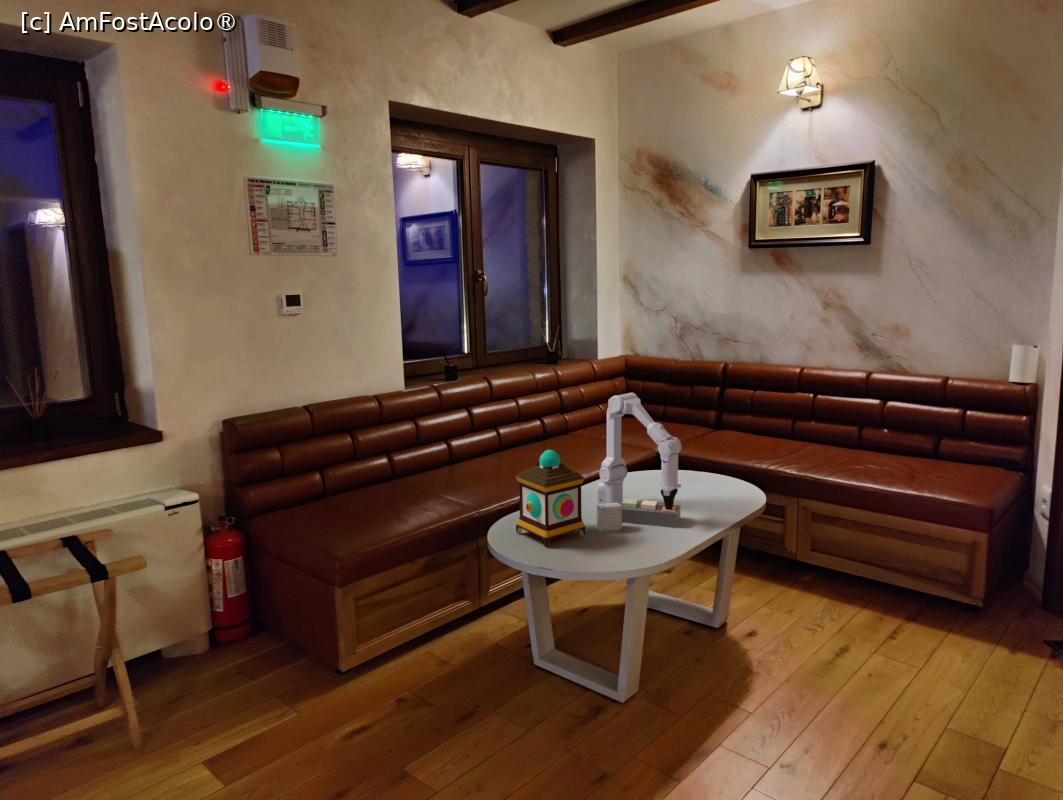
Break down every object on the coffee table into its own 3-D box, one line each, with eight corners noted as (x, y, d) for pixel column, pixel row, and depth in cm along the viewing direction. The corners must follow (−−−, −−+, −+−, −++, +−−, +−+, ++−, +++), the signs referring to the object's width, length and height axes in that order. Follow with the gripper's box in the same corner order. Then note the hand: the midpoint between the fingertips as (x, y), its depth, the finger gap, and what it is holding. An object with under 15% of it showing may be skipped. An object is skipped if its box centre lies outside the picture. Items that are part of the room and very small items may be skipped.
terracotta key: (660, 518, 260) (660, 510, 259) (662, 513, 264) (662, 506, 264) (674, 519, 258) (675, 511, 258) (676, 515, 263) (676, 507, 262)
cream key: (641, 512, 261) (641, 504, 261) (643, 507, 266) (643, 500, 266) (655, 513, 260) (655, 505, 259) (657, 508, 265) (657, 501, 264)
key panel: (617, 522, 262) (617, 508, 261) (622, 513, 272) (622, 500, 271) (676, 527, 256) (677, 513, 255) (680, 518, 265) (680, 504, 264)
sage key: (621, 510, 264) (621, 502, 263) (624, 506, 268) (624, 498, 268) (635, 511, 262) (635, 503, 262) (637, 507, 267) (637, 499, 266)
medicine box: (617, 525, 259) (617, 502, 258) (622, 529, 255) (622, 506, 253) (596, 527, 258) (596, 503, 256) (600, 532, 253) (600, 508, 252)
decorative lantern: (510, 533, 254) (508, 448, 248) (555, 520, 265) (554, 439, 260) (545, 550, 238) (544, 461, 232) (591, 536, 249) (591, 450, 244)
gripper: (678, 478, 250) (677, 516, 253) (683, 467, 264) (682, 503, 266) (657, 477, 252) (657, 515, 255) (663, 466, 266) (663, 502, 268)
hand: (668, 509), depth 261 cm, fingers closed, pressing on terracotta key
